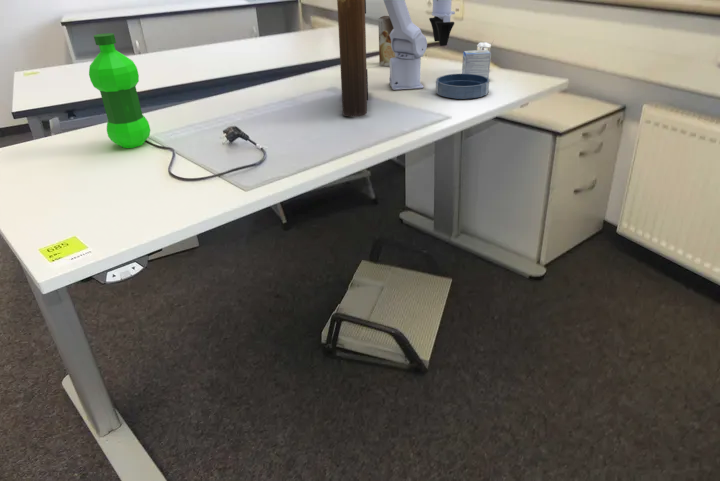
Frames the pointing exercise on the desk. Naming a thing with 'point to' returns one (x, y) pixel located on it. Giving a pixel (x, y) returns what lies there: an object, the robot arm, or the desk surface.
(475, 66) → the medicine box
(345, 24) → the dark brown tall slab
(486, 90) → the bowl
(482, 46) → the milkshake
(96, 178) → the desk surface
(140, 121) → the plastic bottle
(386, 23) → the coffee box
